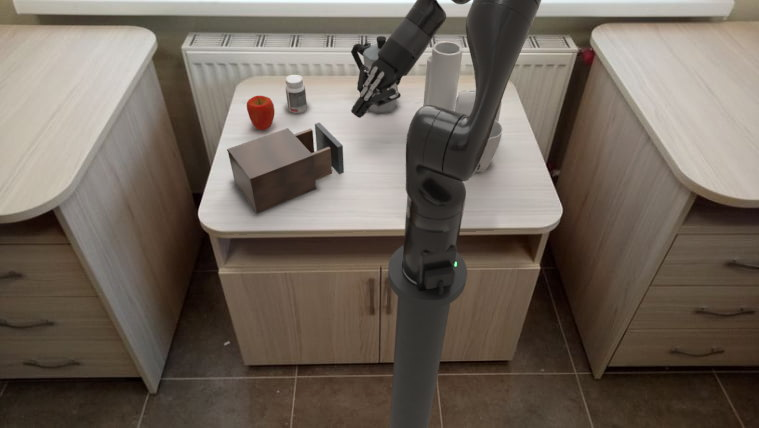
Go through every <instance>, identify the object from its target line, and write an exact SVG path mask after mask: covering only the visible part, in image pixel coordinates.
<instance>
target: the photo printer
mask: <svg viewBox="0 0 759 428" xmlns="http://www.w3.org/2000/svg"><path fill="white" fill-rule="evenodd" d="M475 96H476V88H474V89H466V90H461V91H459V92H458V94H457V96H456V104H455V112H458V113H461V114H465V115H468V116H469V115H470V114H471V112H472V109H473V106H474V102H475ZM501 109H502V101H501V103H500V106H499V109H498V112H497V115H496V118H495V120H496V121H498V122H499V120H500V115H501Z"/></svg>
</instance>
